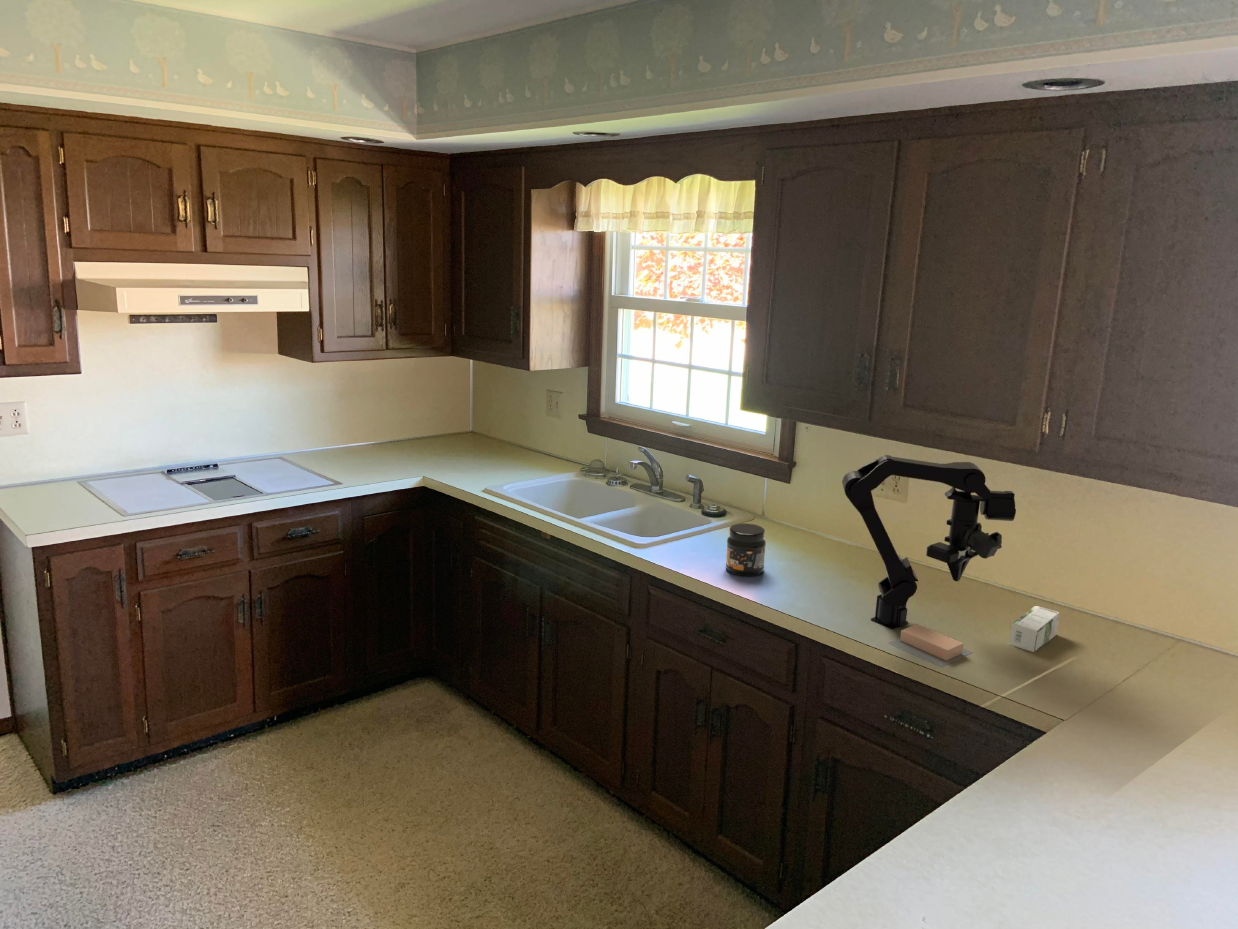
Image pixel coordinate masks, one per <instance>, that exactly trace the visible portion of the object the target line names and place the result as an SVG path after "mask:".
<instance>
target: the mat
mask: <svg viewBox="0 0 1238 929" xmlns="http://www.w3.org/2000/svg"><path fill="white" fill-rule="evenodd" d="M887 643H888V644H889V645H891V646H893V647H896V648H897V649H899V650H900V649H901V650H902V651H905V652H907V653H909V654H911V655H913V656H916V657H918V658H920V659H922V660H924V661H927V662H928V663H931V664H933V665H936V666H937V667H940V668H942V667H945V666H947V665H949V664H952V663H954V662H956V661H958V660H960V659H963V658H964V657H968V656H969V655H971V654H973V652H972V651H970V650H968V649H966V648H964V647H963V649H962V654H960V655H958V656H955V657H953V658H951V659H949V660H947V661H946V660H943V659H941V658H939V657H937V656H934V655H932V654H930V653H928V652H925V651H923V650H921V649H919V648H916V647H914V646H912V645H909V644H907V643H905V642H903V641H900V637H898V638H896V639H893V640H890V641H888V642H887Z"/></svg>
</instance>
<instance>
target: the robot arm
mask: <svg viewBox="0 0 1238 929" xmlns="http://www.w3.org/2000/svg"><path fill="white" fill-rule="evenodd" d="M890 476H894V477H895V476H896V477H903V478H909V479H915V480H923V481H927V482H928V481H930V482H936V483H940V484H944V485H947V486H949V487H951V488H950V489H949V490H947V491H945V492H944V496H945V497H946V498H947V499H948V500H952V507H951V516H950V517H951V518H950V519H947V520H946V525H947V526H949V531H948V535H947V536H944V540H943V541H944V542H946V543H944V542H940V541H938V542H935V543H932V544H929V545H928V546H927V547H926V550H925V551H926V552H925V556H926V557H927V558H931V559H934V560H936V561H939V562H942V563H946V565H947V567H948V570H949V572H950V576H951V578H952V580H953V582H954V581H955V582H959V581H960V580H961V578H962V576H963V574H964V572H965V570H966V568H967V566H968V564H969V562H970V561H971V560H972V559H974V558H975V557H977V556H979V557H980V558H981V559H988V558H990V557H995V555H996V553H997V551H998V550H1000V549H1002V547H1003V546H1002V544H1003V536H1002V534H1001V533H999V532H998V531H996V532H992V533H989V532H984V531H983V530H982V523H981V522H978V519H979V513H980V515H982V516H984V518H985V520H988V521H989V520H990V521H991V520H992V521H1003V522H1004V521H1005V522H1013V521H1014V519H1015V517H1016V513H1017V509H1016V501H1015V495H1016V494H1015V493H1014V492H1013V491H1012V490H1003V491H1002V490H1001V491H1000V490H990V488H989V487H988V486H987V485H986V475H985V473H984V472H983V471H982V470H981V469H980V468H979V467H978V465H977V464H975V463H974V462H971V461H960V462H959V461H956V462H955V461H953V462H948V463H939V462H932V461H931V462H929V461H926V460H918V459H910V458H903V457H898V456H897V457H896V456H892V455H890V454H883V455H881V456H880V457H879V458H877V459H875V460H874V461H871V462H869V463H867V464H865V465H862V467H860V468H858V469H857V470H851V471H849V472H847V473H846V474H844V476H843V478H842V479H841V480H842V481H841V484H842V488H843V491H844V495H845V496H846V498H847V499H848V500H849V502H850V504H852V505H853V507H854V509H856V511H857V512H858V513H859V514H860V516H861V518H862V520H863V522H864V524H865V526H866V528H867V530H868V532H869V534H870V537H871V538H872V540H873V542H874V545H875V547H876V548H877V551H878V553H879V555H880V557H881V560H882V561H883V566H884V569H885V573H886V577H885V578H884V579H882V580H881V581H879V582H878V583H877V586H878V589H879V592H880V594H878V595H877V596H876V603H875V612H874V613H875V614H874V617H871V618H870V621H872V622H873V623H876V624H879V625H880V626H882V627H885V628H888V629H889V630H895V629H898V628H900V627H902V626H905V625H907V624H909V621H907V616H908V608H907V602H908V600H909V599H910V598H911V597H913V596H914V595H915V594H916V592H917V590H918V585H917V582H919V579H918V577H917V574H916V572H915V571H914V569H913V567H912V565H911V563H910V561H909V559H908V556H906V557H905V558H903V559H902V558H901V557H900V555H899V554H898V553H897V550H896V549H895V547H894V544H893V543H892V540H891V539H890V536H889V534H888V532H887V530H886V528H885V525H884V523H883V521H882V519H881V517H880V515H879V513H878V511H877V509H876V506H875V502H874V497H873V494H872V491H873V490H875V489H877V488H878V487H879V486H880V485H881V484H882V483H883V482H884V481H886V479H888V478H889V477H890ZM947 543H948V544H947Z"/></svg>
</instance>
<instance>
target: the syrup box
mask: <svg viewBox="0 0 1238 929" xmlns="http://www.w3.org/2000/svg"><path fill="white" fill-rule="evenodd" d="M1059 619H1060V612H1059V611H1057V610H1053V609H1050V608H1047V607H1042V606H1038V605H1035V606H1033V607H1032V608H1030V609H1029V610H1028V611H1026V612H1025V613H1024V614H1023V615H1021V616H1020V617H1019V618H1017V619H1016V620H1015V621H1012V622H1011V631H1010V638H1009V646H1014V647H1016V648H1020V649H1023V650H1025V651H1028V652H1032V653H1036V652H1037V651H1038V650H1039V649H1041V647H1043V646H1044V645H1045V644H1047V643H1048V642H1049V641H1051V640H1052V639H1053V638H1054V637H1055V636H1057V634H1058V628H1059Z"/></svg>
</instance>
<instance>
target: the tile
mask: <svg viewBox="0 0 1238 929" xmlns="http://www.w3.org/2000/svg"><path fill="white" fill-rule="evenodd" d="M899 638H900V641H903V642H905V643H907V644H909V645H912V646H914V647H916V648H919V649H921V650H923V651H925V652H928V653H930V654H932V655H934V656H937V657H939V658H941V659H943V660H946V661H947V660H949V659H951V658H953V657H955V656H958V655H960V654H962V649H963V648H964V643H963V642H961V641H959V640H956V639H953V638H951V637H949V636H948V635H947V636H946V635H945V634H943V633H939V632H938V631H935V630H932V629H930V628H928V627H925V626H923V625H921V624H919V623H915V624H913V625H911V626H909V627H906V628H904V629H901V631H900V637H899Z"/></svg>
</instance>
